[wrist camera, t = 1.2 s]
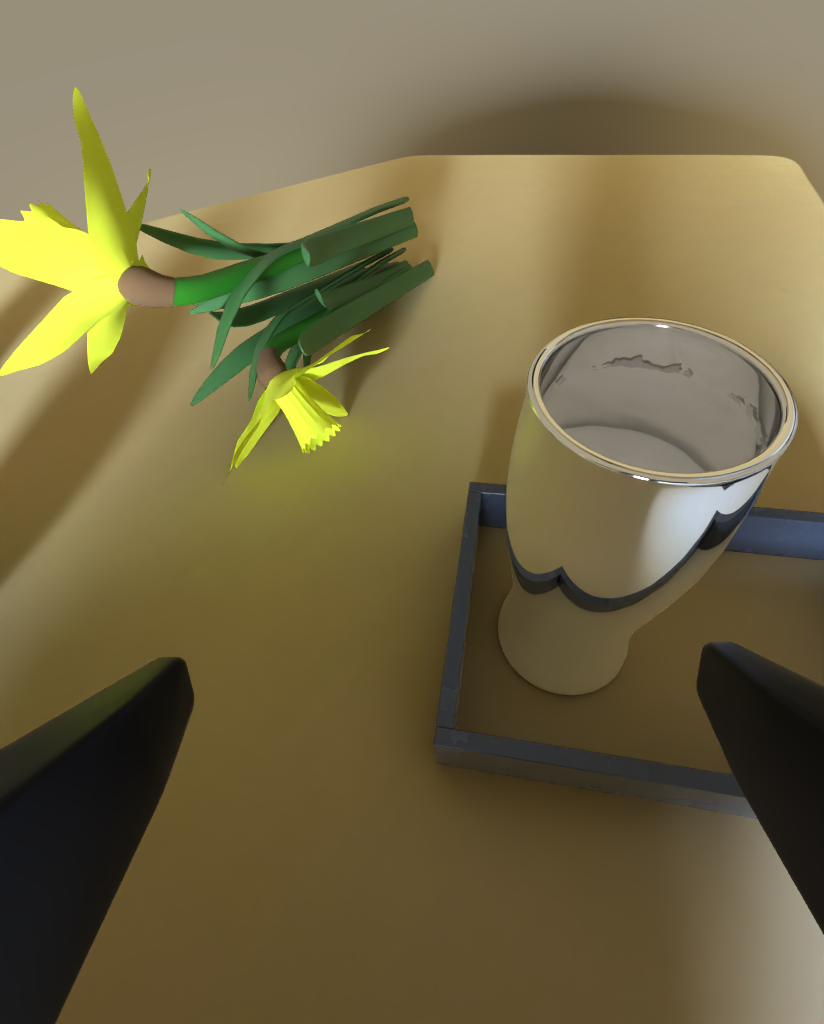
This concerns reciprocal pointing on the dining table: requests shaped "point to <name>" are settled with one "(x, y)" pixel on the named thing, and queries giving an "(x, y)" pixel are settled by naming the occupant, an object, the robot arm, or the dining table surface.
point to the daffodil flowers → (212, 291)
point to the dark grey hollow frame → (578, 767)
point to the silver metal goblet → (628, 485)
